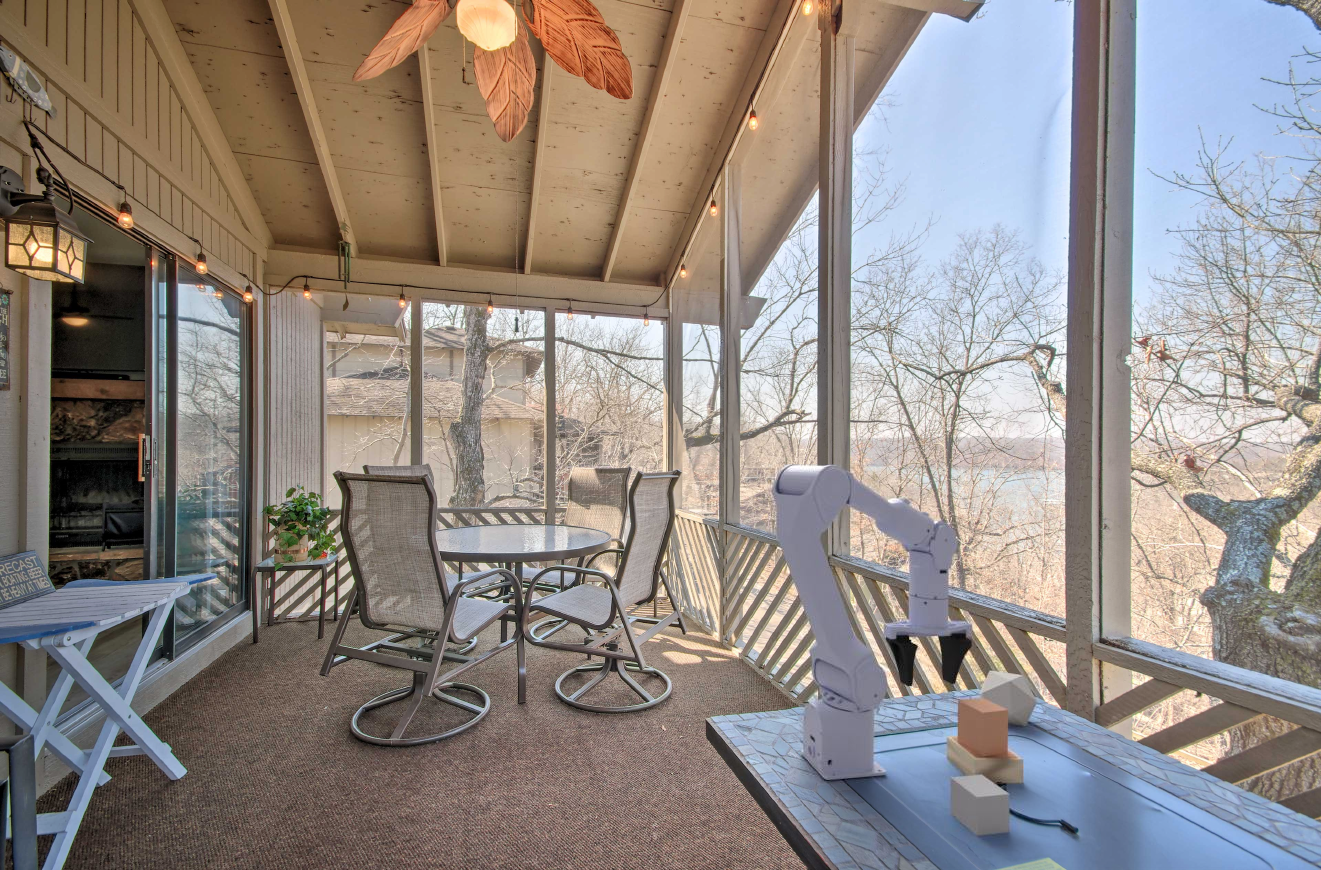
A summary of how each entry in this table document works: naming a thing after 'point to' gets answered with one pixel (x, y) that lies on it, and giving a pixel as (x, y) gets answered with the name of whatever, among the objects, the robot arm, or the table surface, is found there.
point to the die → (1010, 695)
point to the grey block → (980, 804)
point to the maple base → (985, 763)
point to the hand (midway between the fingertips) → (927, 682)
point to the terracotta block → (983, 726)
